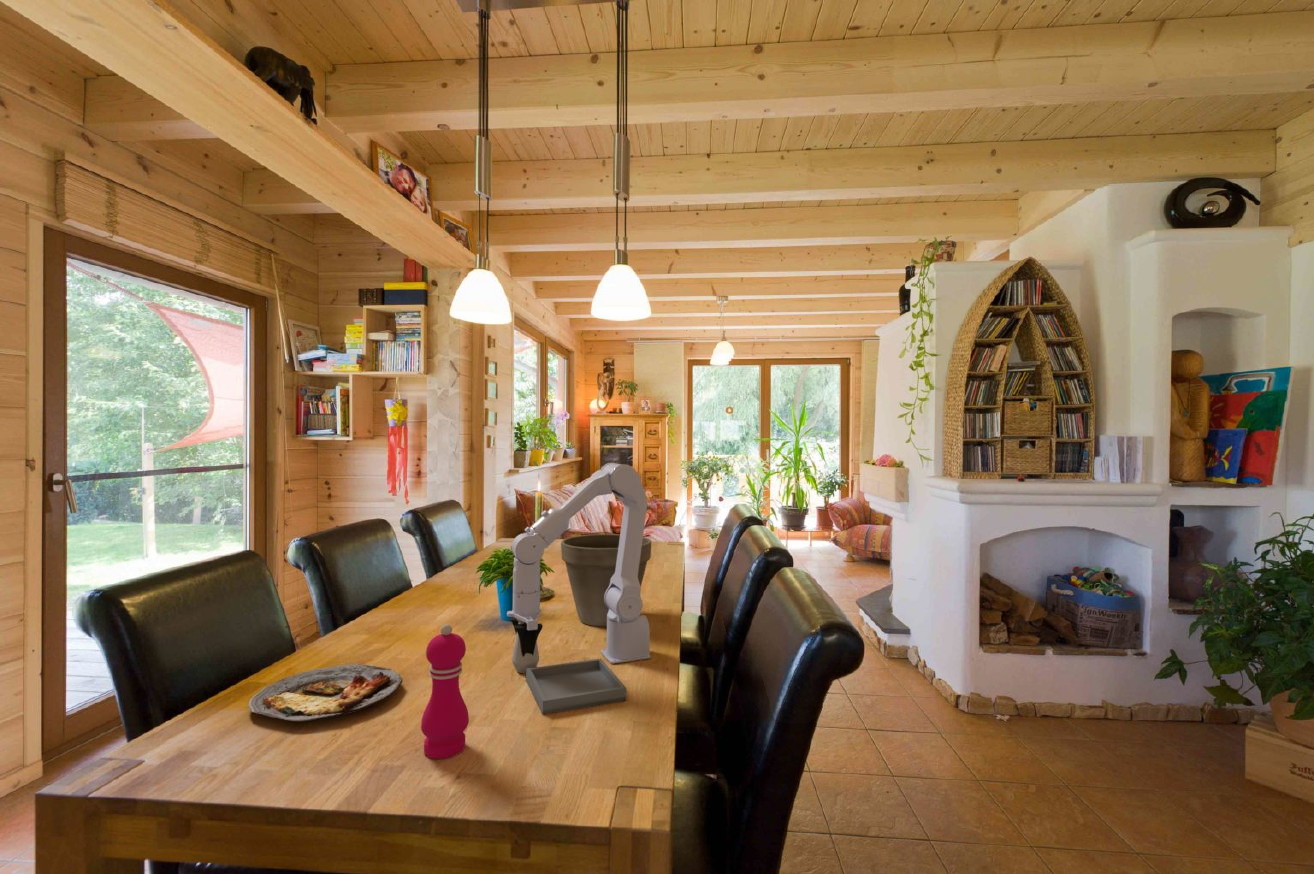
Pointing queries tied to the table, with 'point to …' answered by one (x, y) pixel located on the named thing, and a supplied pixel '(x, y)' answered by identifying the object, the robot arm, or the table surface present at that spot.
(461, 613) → the table surface
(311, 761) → the table surface
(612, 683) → the tray
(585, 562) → the plant pot
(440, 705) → the pepper mill
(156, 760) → the table surface
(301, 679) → the food plate
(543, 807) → the table surface
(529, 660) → the salt shaker
